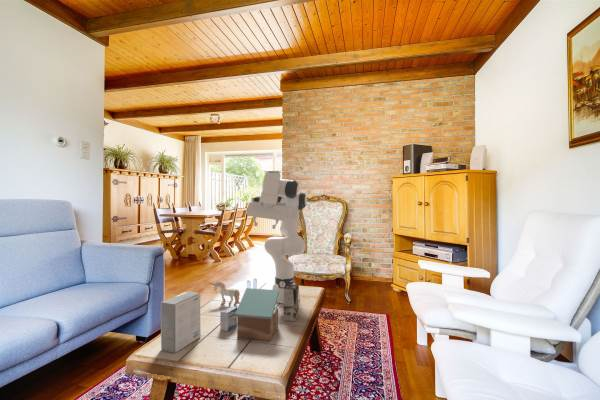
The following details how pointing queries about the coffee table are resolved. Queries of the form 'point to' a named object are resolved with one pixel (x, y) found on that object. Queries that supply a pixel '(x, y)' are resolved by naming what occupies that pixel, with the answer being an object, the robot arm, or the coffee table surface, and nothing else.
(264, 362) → the coffee table surface
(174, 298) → the hard drive box
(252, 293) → the lid
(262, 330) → the walnut box
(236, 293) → the unicorn figurine
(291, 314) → the coffee box
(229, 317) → the medicine box
